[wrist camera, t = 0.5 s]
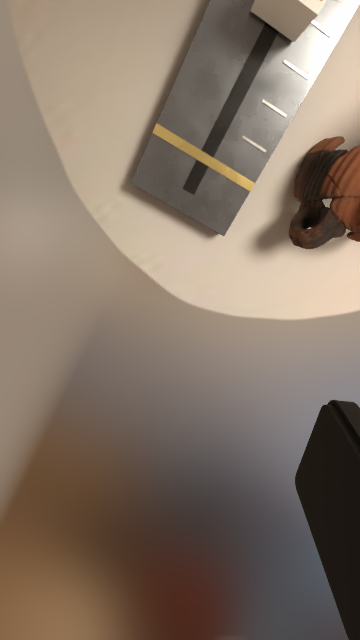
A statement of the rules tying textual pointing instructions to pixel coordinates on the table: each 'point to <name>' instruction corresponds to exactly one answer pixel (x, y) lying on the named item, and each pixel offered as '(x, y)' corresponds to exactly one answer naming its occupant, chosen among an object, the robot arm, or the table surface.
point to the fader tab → (288, 14)
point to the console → (232, 107)
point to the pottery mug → (327, 195)
